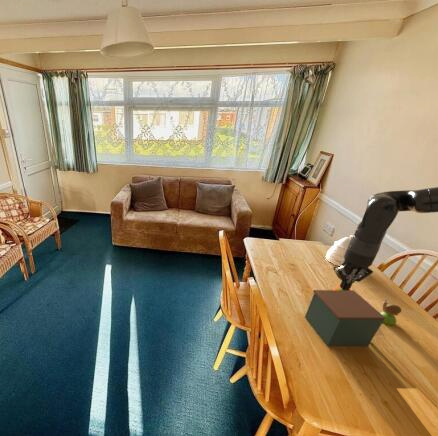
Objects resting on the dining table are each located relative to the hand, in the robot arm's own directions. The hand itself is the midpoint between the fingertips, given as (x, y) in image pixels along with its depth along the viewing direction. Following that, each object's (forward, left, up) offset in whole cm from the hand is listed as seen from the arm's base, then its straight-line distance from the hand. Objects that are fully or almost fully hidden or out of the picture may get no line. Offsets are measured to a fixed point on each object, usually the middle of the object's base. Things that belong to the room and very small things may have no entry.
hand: (344, 288), depth 86 cm
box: (-4, 0, -22) cm, 23 cm away
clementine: (-20, -18, -23) cm, 35 cm away
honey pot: (-43, -49, -23) cm, 69 cm away
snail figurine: (-28, -4, -23) cm, 36 cm away
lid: (-4, 0, -8) cm, 9 cm away
